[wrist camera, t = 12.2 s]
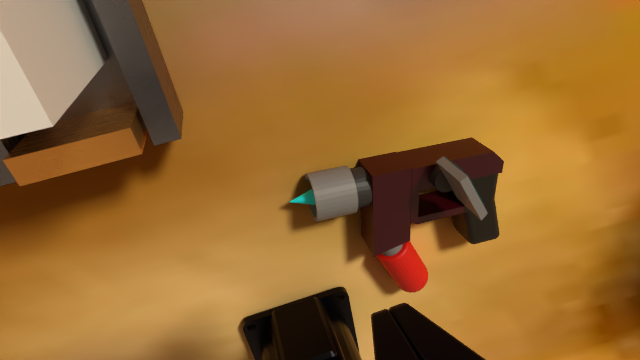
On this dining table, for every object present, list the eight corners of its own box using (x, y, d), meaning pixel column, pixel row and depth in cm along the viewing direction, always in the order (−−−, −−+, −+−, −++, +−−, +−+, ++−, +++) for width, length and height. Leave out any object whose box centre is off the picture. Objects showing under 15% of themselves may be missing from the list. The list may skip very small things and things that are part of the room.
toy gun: (279, 161, 21) (301, 212, 16) (491, 119, 23) (557, 156, 19) (300, 300, 25) (321, 367, 21) (473, 254, 28) (522, 307, 24)
